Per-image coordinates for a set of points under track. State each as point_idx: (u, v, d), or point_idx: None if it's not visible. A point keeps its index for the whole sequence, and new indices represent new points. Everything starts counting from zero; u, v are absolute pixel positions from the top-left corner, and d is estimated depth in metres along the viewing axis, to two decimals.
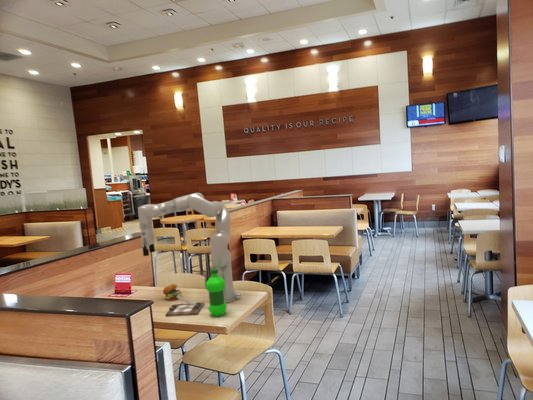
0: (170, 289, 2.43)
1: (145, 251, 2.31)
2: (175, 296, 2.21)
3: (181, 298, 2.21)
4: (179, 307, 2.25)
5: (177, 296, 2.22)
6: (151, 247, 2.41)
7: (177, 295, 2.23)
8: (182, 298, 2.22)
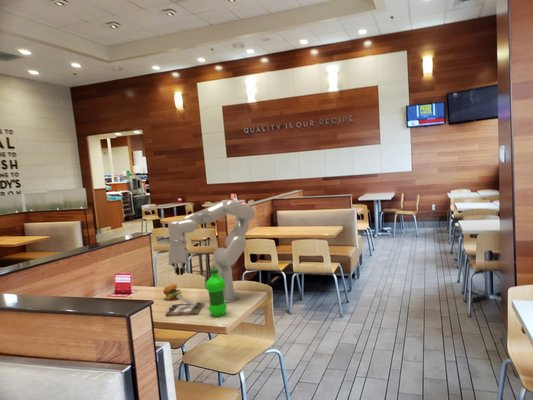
0: (170, 289, 2.43)
1: (183, 269, 2.21)
2: (175, 296, 2.21)
3: (181, 298, 2.21)
4: (179, 307, 2.25)
5: (177, 296, 2.22)
6: (178, 269, 2.21)
7: (177, 295, 2.23)
8: (182, 298, 2.22)
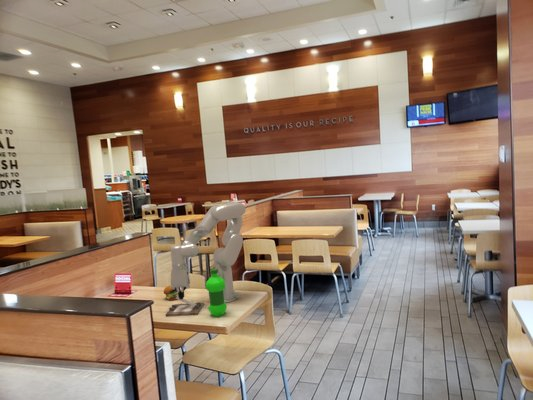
0: (170, 289, 2.43)
1: (183, 293, 2.22)
2: (175, 297, 2.21)
3: (181, 299, 2.22)
4: (179, 307, 2.25)
5: (177, 297, 2.22)
6: None
7: (177, 296, 2.23)
8: (182, 299, 2.22)
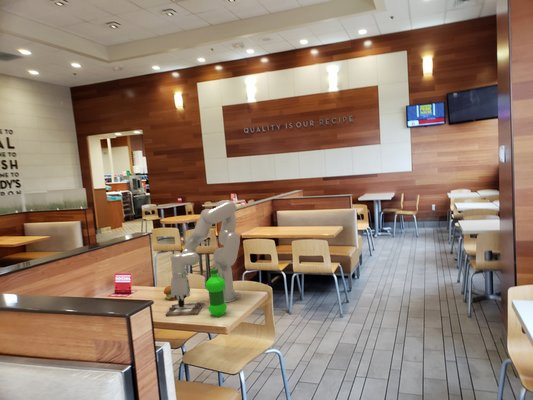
0: None
1: (183, 301, 2.22)
2: None
3: None
4: None
5: (175, 306, 2.22)
6: None
7: None
8: None
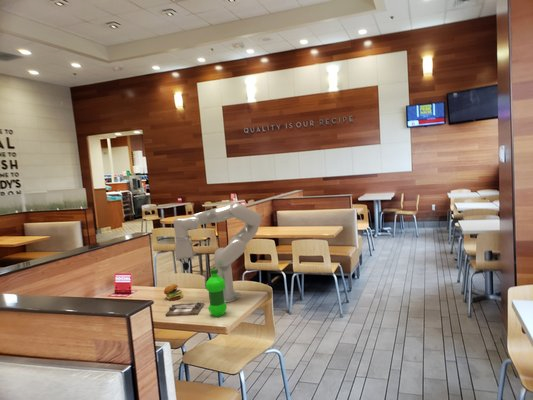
0: (171, 289, 2.42)
1: (188, 264, 2.29)
2: None
3: (179, 306, 2.22)
4: None
5: (175, 306, 2.22)
6: None
7: (175, 306, 2.23)
8: (180, 306, 2.23)
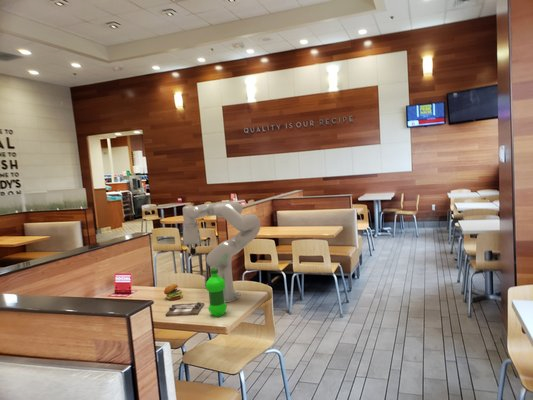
0: (171, 289, 2.42)
1: (195, 250, 2.43)
2: None
3: (179, 306, 2.22)
4: None
5: (175, 306, 2.22)
6: None
7: (175, 306, 2.23)
8: (180, 306, 2.23)
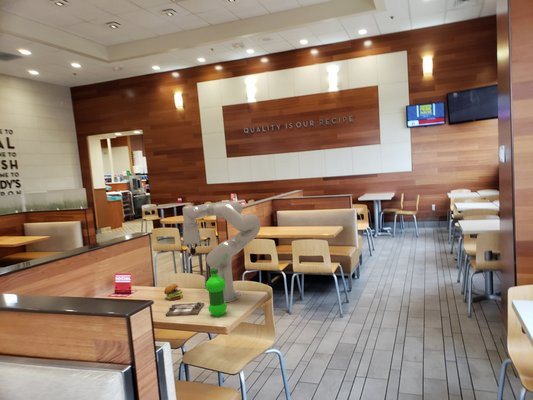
0: (171, 289, 2.42)
1: (195, 250, 2.43)
2: None
3: (179, 306, 2.22)
4: None
5: (175, 306, 2.22)
6: None
7: (175, 306, 2.23)
8: (180, 306, 2.23)
